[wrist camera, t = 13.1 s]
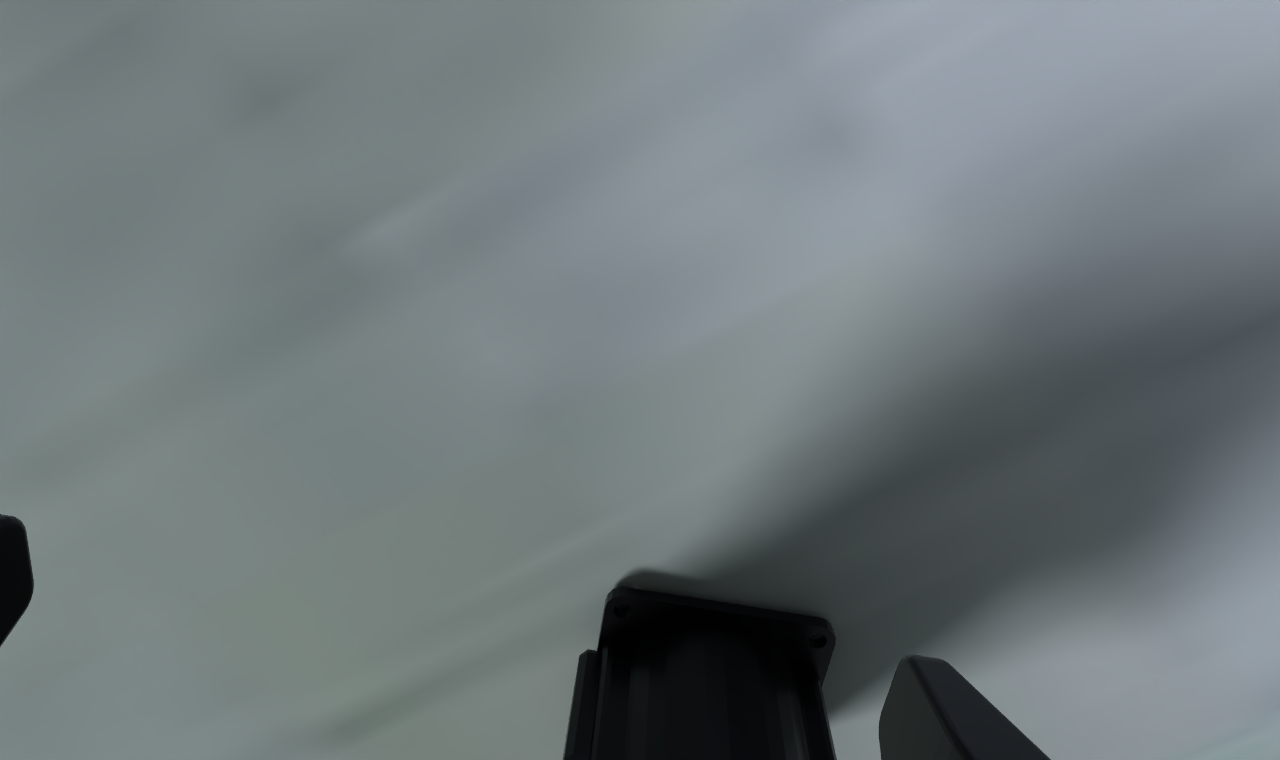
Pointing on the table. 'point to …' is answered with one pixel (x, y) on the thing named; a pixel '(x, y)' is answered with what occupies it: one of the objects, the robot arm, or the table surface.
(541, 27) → the table surface
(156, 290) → the table surface
